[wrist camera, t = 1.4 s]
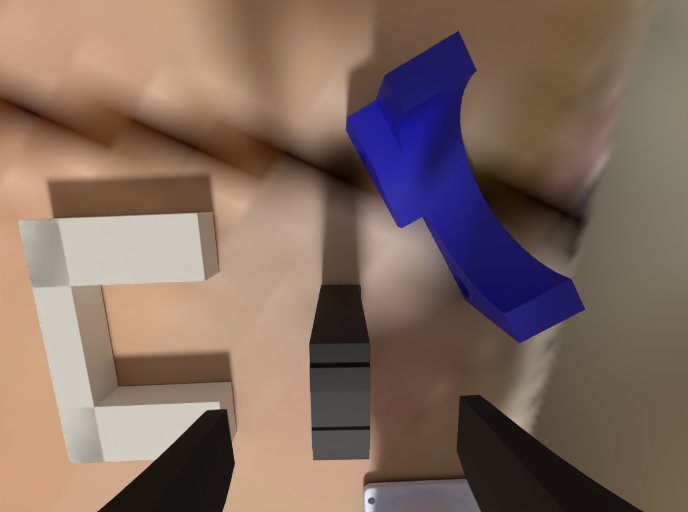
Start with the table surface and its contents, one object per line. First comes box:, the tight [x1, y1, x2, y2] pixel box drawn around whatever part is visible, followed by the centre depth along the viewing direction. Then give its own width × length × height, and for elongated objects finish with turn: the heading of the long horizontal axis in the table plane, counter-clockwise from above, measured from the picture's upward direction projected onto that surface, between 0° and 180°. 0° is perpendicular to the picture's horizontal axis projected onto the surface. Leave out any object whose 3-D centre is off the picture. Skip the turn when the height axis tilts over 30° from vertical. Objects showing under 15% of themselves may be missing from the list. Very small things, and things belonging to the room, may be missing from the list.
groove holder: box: [18, 212, 237, 463], centre depth 18 cm, size 14×9×2 cm, turn 2°
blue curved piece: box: [346, 31, 585, 343], centre depth 16 cm, size 12×4×6 cm, turn 30°
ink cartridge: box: [309, 285, 370, 460], centre depth 16 cm, size 5×2×8 cm, turn 0°
